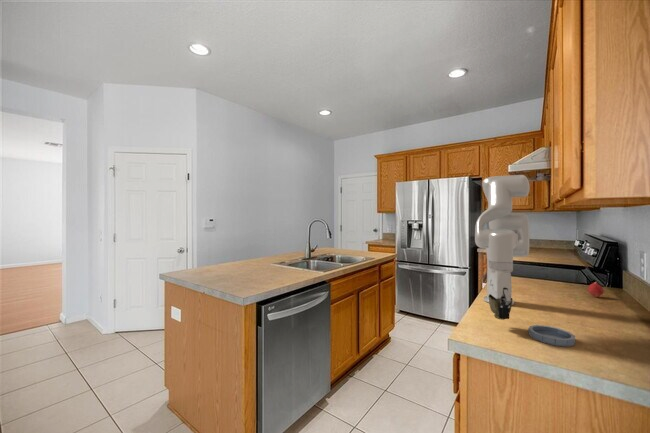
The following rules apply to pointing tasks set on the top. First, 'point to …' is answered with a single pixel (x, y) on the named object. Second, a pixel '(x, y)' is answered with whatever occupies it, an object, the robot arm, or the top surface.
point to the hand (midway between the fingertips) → (500, 314)
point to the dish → (552, 335)
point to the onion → (595, 289)
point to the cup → (496, 305)
